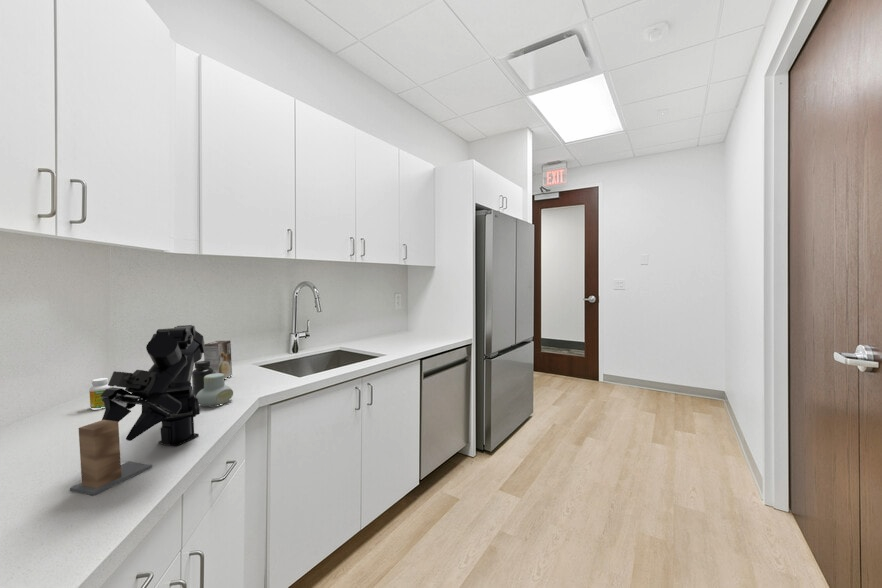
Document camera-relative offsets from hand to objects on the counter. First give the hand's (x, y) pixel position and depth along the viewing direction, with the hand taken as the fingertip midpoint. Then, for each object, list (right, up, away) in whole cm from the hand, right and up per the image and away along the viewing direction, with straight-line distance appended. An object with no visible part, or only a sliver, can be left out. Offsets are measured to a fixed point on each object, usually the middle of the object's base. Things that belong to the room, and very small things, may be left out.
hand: (113, 437), depth 79 cm
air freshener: (-7, -7, +46) cm, 47 cm away
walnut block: (0, -8, -2) cm, 8 cm away
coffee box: (-24, -6, +77) cm, 81 cm away
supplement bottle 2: (-18, -7, +57) cm, 61 cm away
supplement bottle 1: (-44, -8, +44) cm, 62 cm away
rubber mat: (0, -9, 0) cm, 9 cm away
